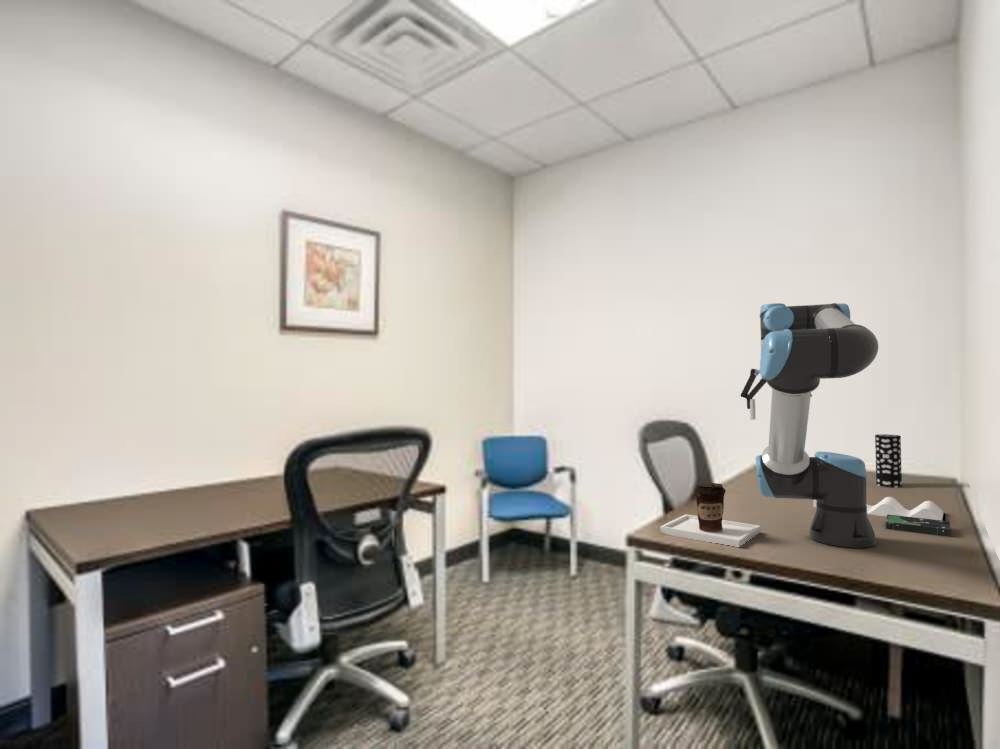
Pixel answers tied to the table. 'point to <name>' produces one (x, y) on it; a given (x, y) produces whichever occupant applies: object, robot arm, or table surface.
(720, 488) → the coffee cup
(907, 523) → the disk drive
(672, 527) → the tray
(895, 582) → the table surface
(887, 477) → the white-spotted black cylinder
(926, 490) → the table surface
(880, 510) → the white wavy piece
